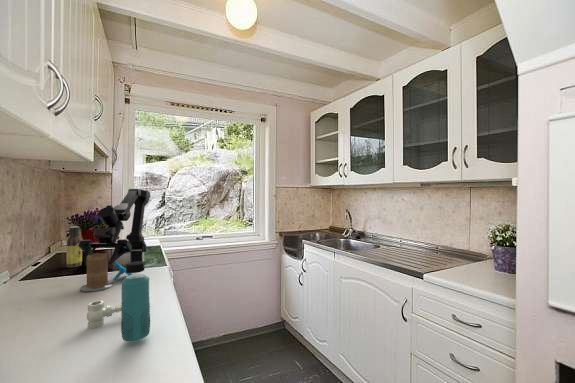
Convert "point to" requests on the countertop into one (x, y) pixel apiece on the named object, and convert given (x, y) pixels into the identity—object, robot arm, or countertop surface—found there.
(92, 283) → the sleeve
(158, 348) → the countertop surface
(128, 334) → the beverage bottle
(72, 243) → the sauce bottle
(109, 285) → the hub
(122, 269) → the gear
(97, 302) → the valve
